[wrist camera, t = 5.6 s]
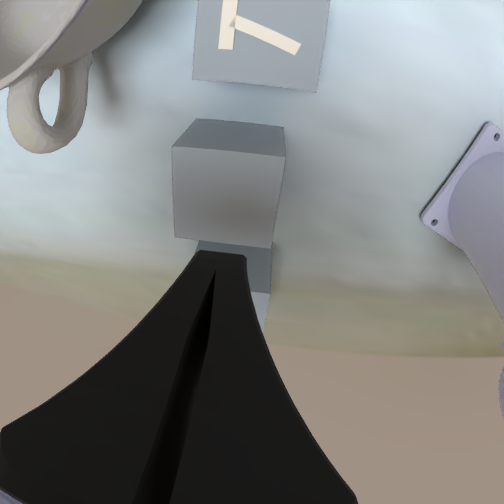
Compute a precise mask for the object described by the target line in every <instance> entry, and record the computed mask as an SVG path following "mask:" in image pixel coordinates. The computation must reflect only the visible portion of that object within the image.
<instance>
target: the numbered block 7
mask: <svg viewBox="0 0 504 504" xmlns="http://www.w3.org/2000/svg"><path fill="white" fill-rule="evenodd" d="M329 7H330V0H198V7H197V18H196V29H195V42H194V55H193V71H192V80H207V81H224V82H237V83H248V84H258V85H267V86H275V87H282V88H289V89H296V90H302V91H308V92H314V93H316V91H317V85H318V79H319V73H320V66H321V60H322V54H323V47H324V41H325V34H326V28H327V21H328V14H329Z"/></svg>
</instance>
